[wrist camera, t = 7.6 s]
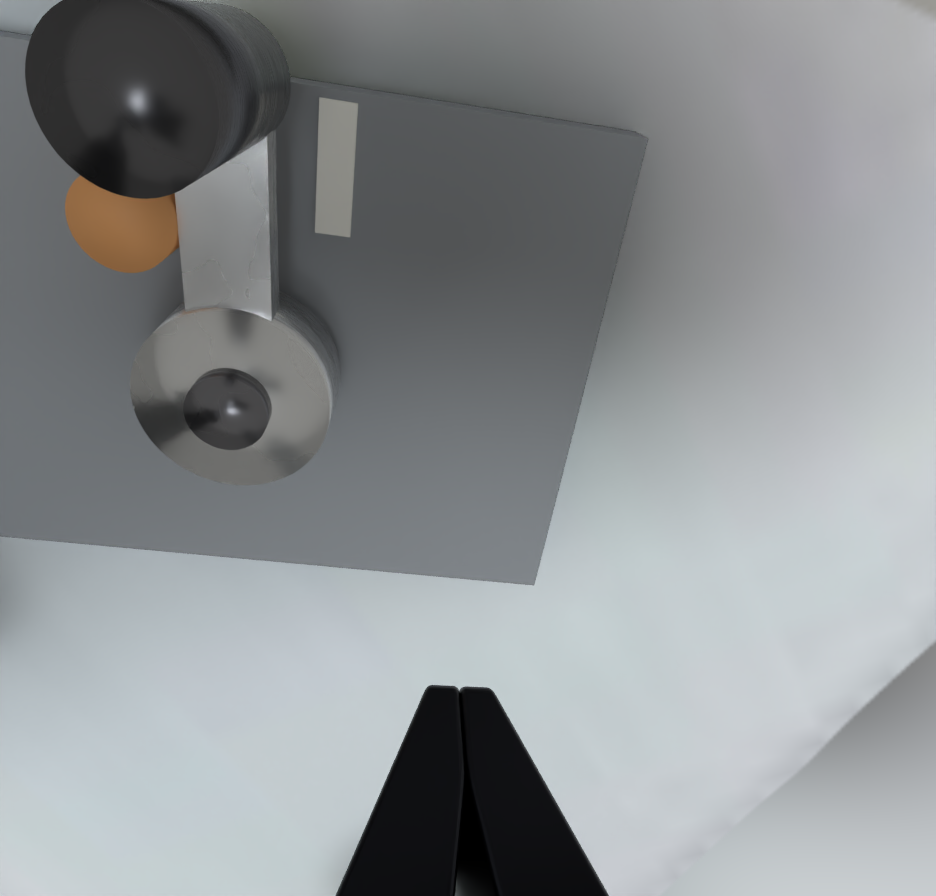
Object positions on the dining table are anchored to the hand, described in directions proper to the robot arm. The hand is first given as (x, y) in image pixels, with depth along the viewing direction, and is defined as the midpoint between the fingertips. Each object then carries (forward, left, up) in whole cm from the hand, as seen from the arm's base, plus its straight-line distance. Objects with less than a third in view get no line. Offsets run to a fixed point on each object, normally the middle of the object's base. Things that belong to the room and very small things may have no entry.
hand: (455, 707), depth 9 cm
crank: (-5, +2, -10) cm, 12 cm away
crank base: (-5, 0, -12) cm, 13 cm away
